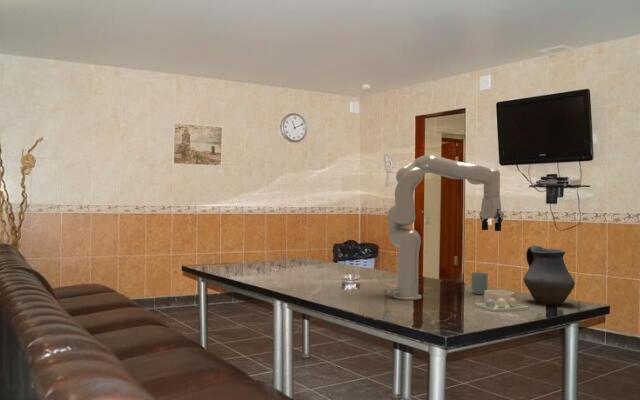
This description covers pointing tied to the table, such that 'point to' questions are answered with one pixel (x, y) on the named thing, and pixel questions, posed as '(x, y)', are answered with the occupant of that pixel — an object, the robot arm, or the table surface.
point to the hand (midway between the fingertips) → (491, 230)
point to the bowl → (498, 295)
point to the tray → (506, 308)
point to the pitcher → (547, 276)
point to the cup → (479, 282)
